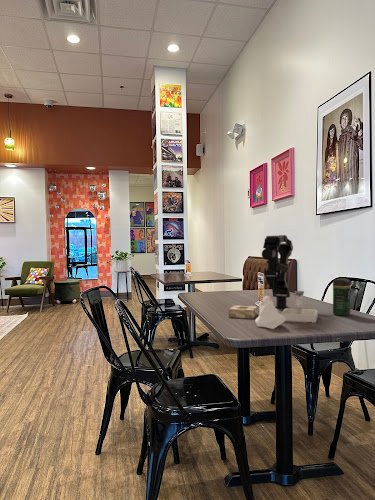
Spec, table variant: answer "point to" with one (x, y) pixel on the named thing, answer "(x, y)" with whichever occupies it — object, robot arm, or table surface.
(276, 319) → the white tetrapod block
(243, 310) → the block
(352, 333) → the table surface
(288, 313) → the tray
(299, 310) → the steel pin
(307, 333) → the table surface
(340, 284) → the coffee jar
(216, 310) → the table surface
